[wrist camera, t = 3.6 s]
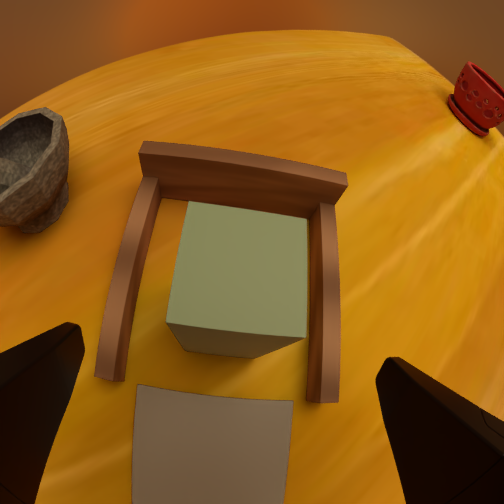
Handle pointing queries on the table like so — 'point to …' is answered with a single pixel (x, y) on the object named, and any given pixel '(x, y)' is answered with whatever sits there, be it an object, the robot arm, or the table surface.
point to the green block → (239, 281)
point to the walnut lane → (240, 196)
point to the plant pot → (477, 100)
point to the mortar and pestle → (33, 170)
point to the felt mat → (209, 448)
